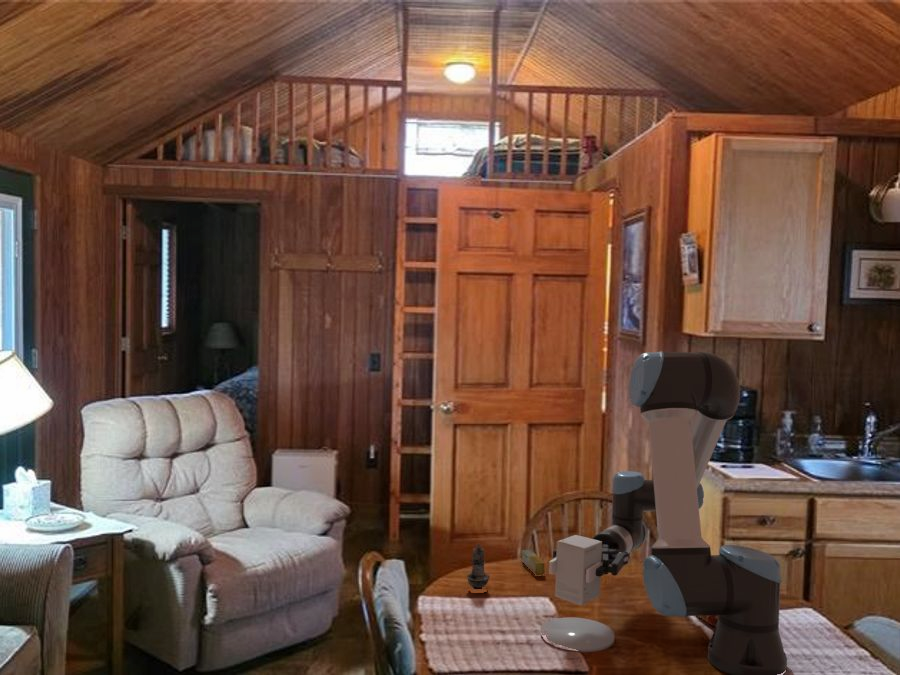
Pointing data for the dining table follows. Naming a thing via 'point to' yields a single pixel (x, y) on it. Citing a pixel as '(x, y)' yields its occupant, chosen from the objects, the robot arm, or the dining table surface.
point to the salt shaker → (478, 569)
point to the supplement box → (577, 569)
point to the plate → (579, 634)
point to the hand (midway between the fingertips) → (568, 572)
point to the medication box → (533, 562)
